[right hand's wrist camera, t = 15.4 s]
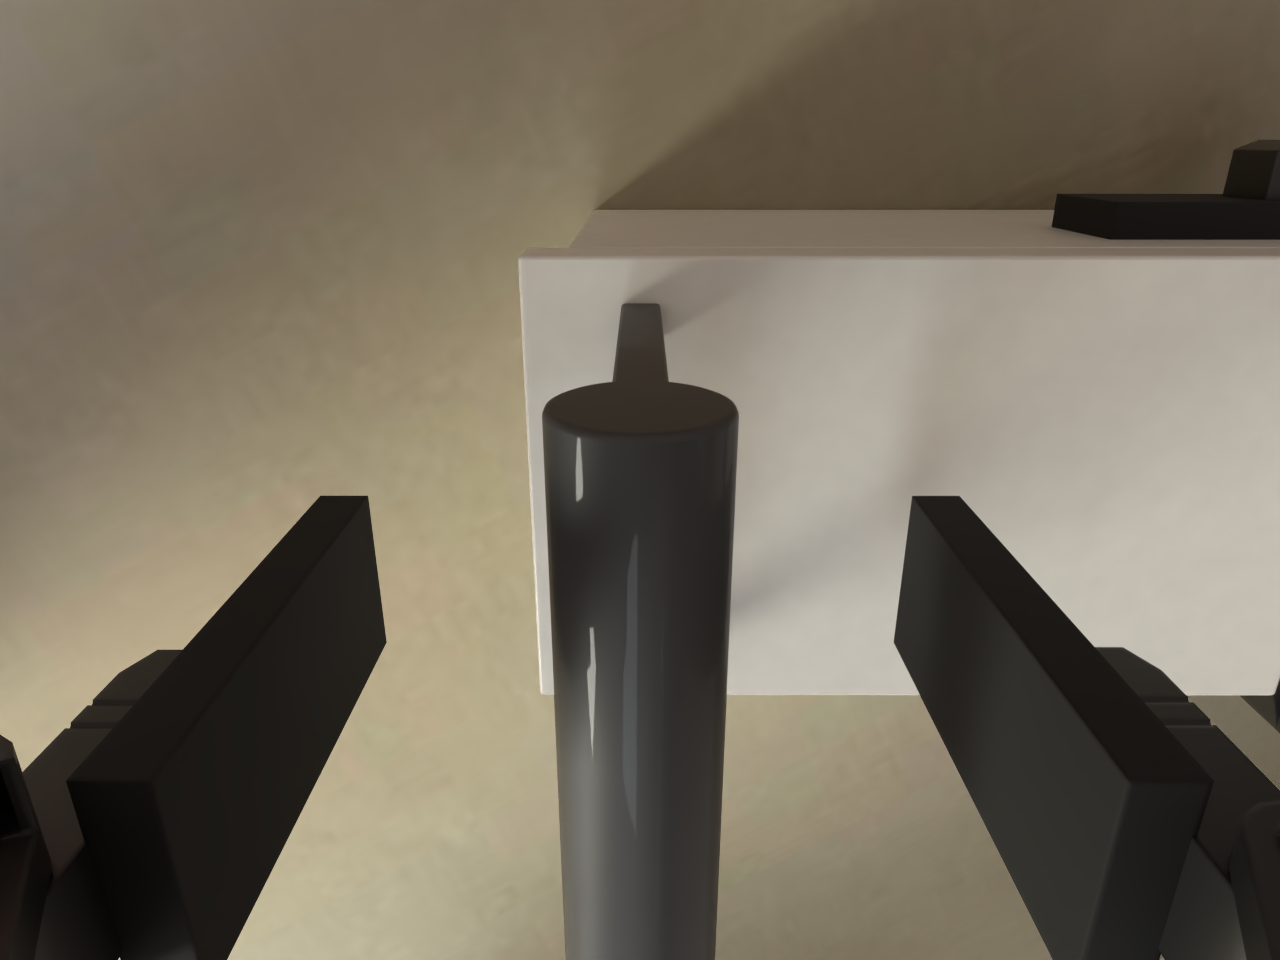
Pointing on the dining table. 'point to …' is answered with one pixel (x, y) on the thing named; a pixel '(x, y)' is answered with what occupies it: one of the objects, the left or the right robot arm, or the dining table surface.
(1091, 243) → the chest
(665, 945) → the lid
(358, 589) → the right robot arm
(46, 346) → the dining table surface
